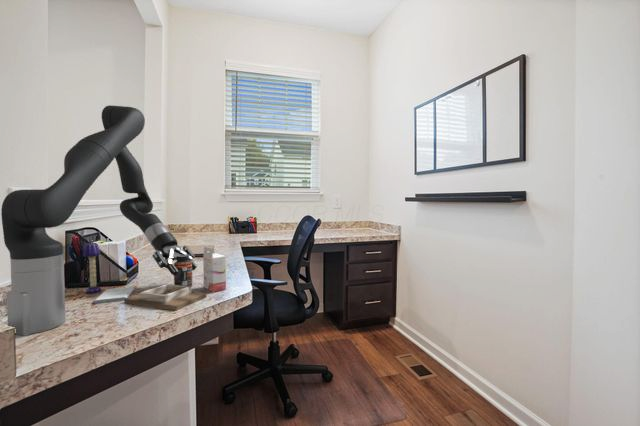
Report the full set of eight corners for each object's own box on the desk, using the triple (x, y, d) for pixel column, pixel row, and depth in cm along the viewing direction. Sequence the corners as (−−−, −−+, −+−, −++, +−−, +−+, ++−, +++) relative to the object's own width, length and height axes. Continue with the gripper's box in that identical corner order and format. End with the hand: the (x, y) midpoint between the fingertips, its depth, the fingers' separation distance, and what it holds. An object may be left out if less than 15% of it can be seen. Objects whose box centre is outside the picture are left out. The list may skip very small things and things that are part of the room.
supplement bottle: (189, 288, 102) (189, 256, 101) (171, 289, 101) (171, 257, 100) (194, 284, 108) (193, 253, 107) (177, 284, 107) (176, 254, 106)
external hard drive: (93, 305, 87) (105, 293, 98) (126, 302, 90) (134, 290, 101) (93, 300, 87) (105, 289, 98) (126, 296, 90) (134, 286, 101)
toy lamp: (101, 293, 97) (99, 243, 97) (83, 295, 95) (81, 244, 94) (101, 289, 101) (100, 241, 101) (84, 291, 99) (83, 242, 98)
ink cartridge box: (226, 289, 101) (226, 247, 100) (212, 292, 97) (212, 248, 97) (216, 284, 107) (216, 244, 107) (203, 287, 104) (202, 246, 103)
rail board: (176, 310, 81) (176, 299, 81) (124, 302, 88) (124, 292, 88) (206, 297, 92) (206, 287, 92) (158, 291, 99) (158, 281, 99)
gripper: (149, 233, 99) (176, 268, 96) (181, 229, 113) (206, 260, 109) (138, 247, 101) (164, 283, 98) (171, 242, 115) (194, 273, 111)
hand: (186, 271), depth 104 cm, fingers open, 8 cm apart
